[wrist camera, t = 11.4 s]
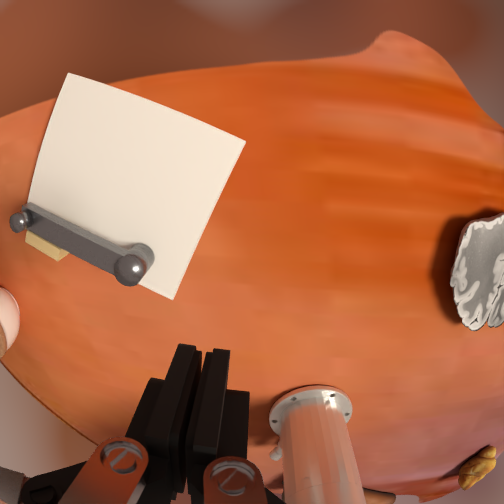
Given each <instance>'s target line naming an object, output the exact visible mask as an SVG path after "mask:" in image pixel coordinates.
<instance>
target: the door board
mask: <svg viewBox="0 0 504 504" xmlns="http://www.w3.org/2000/svg"><path fill="white" fill-rule="evenodd" d="M245 143H246V141H244V140H242V139H240V138H238V137H236V136H233V135H231V134H229V133H227V132H225V131H222V130H220V129H218V128H216V127H213V126H211V125H209V124H207V123H204V122H202V121H200V120H197V119H195V118H193V117H190V116H188V115H185V114H183V113H181V112H178V111H176V110H173V109H171V108H168V107H166V106H163V105H161V104H158V103H156V102H153V101H150V100H148V99H145V98H142V97H140V96H137V95H134V94H132V93H129V92H126V91H123V90H120V89H117V88H115V87H112V86H109V85H106V84H103V83H100V82H97V81H94V80H91V79H88V78H84V77H81V76H78V75H75V74H71V73H68V75H67V77H66V79H65V81H64V84H63V86H62V89H61V91H60V94H59V96H58V99H57V101H56V104H55V107H54V110H53V112H52V115H51V118H50V121H49V124H48V127H47V130H46V133H45V136H44V139H43V143H42V146H41V149H40V153H39V156H38V160H37V164H36V167H35V171H34V175H33V179H32V184H31V188H30V192H29V197H28V202H27V203H30V202H31V203H33V204H35V205H37V206H39V207H41V208H43V209H45V210H47V211H49V212H51V213H53V214H55V215H57V216H59V217H61V218H63V219H65V220H67V221H69V222H71V223H73V224H75V225H77V226H79V227H81V228H83V229H85V230H87V231H89V232H91V233H93V234H95V235H97V236H99V237H101V238H103V239H105V240H107V241H110V242H112V243H114V244H116V245H118V246H120V247H122V248H124V249H126V250H129V249H130V248H131V247H132V246H134V245H135V244H138V243H143V244H146V245H148V246H149V247H150V248H151V249H152V251H153V253H154V256H155V260H154V263H153V265H152V266H151V267H150V269H149V270H148V271H147V273H146V274H145V275H144V276H143V278H142V279H141V280H140V282H139V283H138V284H140V285H142V286H144V287H146V288H148V289H150V290H152V291H155V292H157V293H159V294H161V295H163V296H165V297H167V298H169V299H171V300H173V298H174V296H175V294H176V292H177V290H178V287H179V285H180V283H181V280H182V278H183V276H184V273H185V271H186V269H187V267H188V264H189V262H190V260H191V258H192V255H193V253H194V251H195V249H196V246H197V244H198V242H199V240H200V237H201V235H202V233H203V231H204V229H205V226H206V224H207V222H208V220H209V218H210V216H211V213H212V211H213V209H214V207H215V205H216V203H217V201H218V199H219V196H220V194H221V192H222V190H223V188H224V186H225V184H226V182H227V180H228V178H229V176H230V174H231V172H232V169H233V167H234V165H235V163H236V161H237V159H238V157H239V155H240V153H241V151H242V149H243V147H244V145H245ZM25 242H26V243H28V244H30V245H31V246H33V247H35V248H36V249H38V250H40V251H41V252H43V253H45V254H46V255H48V256H50V257H51V258H53V259H55V260H57V261H59V260H60V259H62V258H63V257H65V256H66V255H67V254H69V252H67V251H65V250H63V249H62V248H60V247H58V246H56V245H54V244H52V243H50V242H49V241H47V240H45V239H43V238H41V237H39V236H38V235H36V234H34V233H32V232H30V231H29V230H27V233H26V240H25Z"/></svg>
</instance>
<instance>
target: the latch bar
mask: <svg viewBox="0 0 504 504" xmlns="http://www.w3.org/2000/svg"><path fill="white" fill-rule="evenodd" d="M10 227H11V229H12V230H13V231H14V232H15V233H19V232H21V231H23V230H25V229H27V230H29V231H30V232H32V233H34V234H36V235H38V236H39V237H41V238H43V239H45V240H47V241H49V242H50V243H52V244H54V245H56V246H58V247H60V248H62V249H63V250H65V251H67V252H69V253H71V254H73V255H75V256H77V257H79V258H81V259H83V260H85V261H87V262H89V263H90V264H92V265H94V266H96V267H98V268H100V269H102V270H105V271H107V272H109V273H111V274H113V275H115V277H116V279H117V280H118V281H119V282H120V283H121V284H123V285H125V286H135V285H137V284H138V283H139V282H140V280H141V279H142V278H143V276H144V275H145V274H146V273H147V271H148V270H149V269H150V267H151V266H152V265H153V263H154V260H155V256H154V253H153V251H152V249H151V248H150V247H149V246H148V245H146V244H143V243H138V244H135V245H134V246H132V247H131V248H130V249H129V250H126V249H124V248H122V247H120V246H118V245H116V244H114V243H112V242H110V241H107V240H105V239H103V238H101V237H99V236H97V235H95V234H93V233H91V232H89V231H87V230H85V229H83V228H81V227H79V226H77V225H75V224H73V223H71V222H69V221H67V220H65V219H63V218H61V217H59V216H57V215H55V214H53V213H51V212H49V211H47V210H45V209H43V208H41V207H39V206H37V205H35V204H33V203H31V202H30V203H27V204H24V205H22V210H21V211H20V212H18V213H15V214H13V215H12V216H11V217H10Z"/></svg>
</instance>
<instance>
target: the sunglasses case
mask: <svg viewBox="0 0 504 504" xmlns="http://www.w3.org/2000/svg"><path fill="white" fill-rule="evenodd" d="M363 492H364V496H365V500H366V504H393V503H394V502H395V499H396V495H395V494H393V493H381V492H377V491H372V490H368V489H364V488H363Z"/></svg>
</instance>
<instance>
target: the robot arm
mask: <svg viewBox="0 0 504 504" xmlns="http://www.w3.org/2000/svg"><path fill="white" fill-rule="evenodd" d="M229 359H230V350H223V349H215V348H214V349H213V353H212V352H206V356H205V360H204V364H203V368H202V372H201V365H202V351H198V350H196V346H193V345H187V344H179V345H178V347H177V349H176V352H175V355H174V357H173V360H172V362H171V365H170V368H169V370H168V373H167V375H166V378H165V380H162V379H157V378H150V380H149V381H148V384H147V386H146V388H145V390H144V393H143V395H142V397H141V400H140V402H139V404H138V407H137V409H136V411H135V414H134V416H133V418H132V421H131V423H130V426H129V428H128V430H127V433H126V435H125V437H113V438H109V439H107V440H105V441H103V442H102V443H101V444H100V445H99V446H98V447H97V448H96V449H95V451H94V452H93V454H92V455H91V457H90V458H89V459H88V461H85V462H82V463H79V464H76V465H73V466H70V467H66V468H63V469H59V470H56V471H52V472H49V473H45V474H41V475H37V476H35V477H33V478H30V477H26V475H25V474H24V473H20V472H16V471H13V470H9V469H7V468H3V467H0V504H170V502H171V500H176V495H177V492H178V493H183V492H184V488H185V483H186V478H187V484H188V494H190V495H191V504H366V500H365V496H364V492H363V488H362V484H361V480H360V476H359V472H358V468H357V464H356V460H355V456H354V452H353V448H352V445H351V441H350V437H349V433H348V429H347V426H346V423H347V422H348V421H349V419H350V417H351V415H352V404H351V401H350V399H349V397H348V396H347V395H346V394H345V393H344V392H343V391H341V390H340V389H337V388H334V387H330V386H320V385H316V386H307V387H303V388H299V389H296V390H293V391H291V392H289V393H287V394H285V395H284V396H282V397H281V398H279V399H278V400H277V401H276V402H275V403H274V405H273V406H272V408H271V410H270V413H269V422H270V426H271V428H272V430H273V431H274V432H275V433H276V434H277V435H279V436H280V441H279V442H278V446H277V447H275V448H274V449H273V450H272V451H271V452H270V454H269V455H270V457H271V459H273V460H279V459H280V458H281V457H282V461H283V477H284V493H285V502H283V501H282V500H281V499H279V498H278V497H277V496H275V495H274V494H273V493H272V492H271V491H269V490H268V489H267V488H265V487H264V482H263V477H262V474H261V472H260V470H259V469H258V467H257V466H256V465H255V464H254V463H252V462H250V461H249V460H247V442H248V420H249V397H250V393H249V392H247V391H237V390H228V389H227V380H228V370H229Z"/></svg>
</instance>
